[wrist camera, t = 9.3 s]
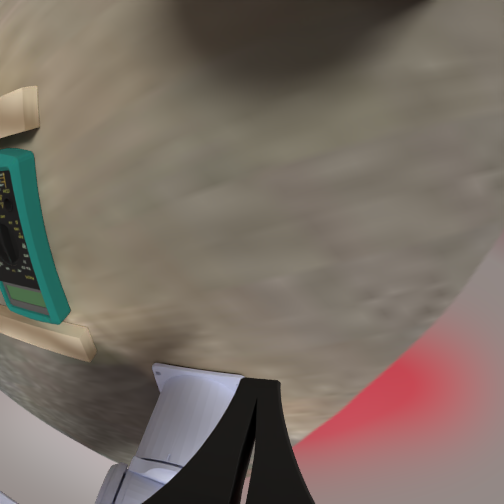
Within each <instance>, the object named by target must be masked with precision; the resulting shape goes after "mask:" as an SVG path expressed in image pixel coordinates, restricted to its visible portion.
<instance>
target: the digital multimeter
mask: <svg viewBox="0 0 504 504" xmlns="http://www.w3.org/2000/svg"><path fill="white" fill-rule="evenodd" d="M0 289H1V292H2V294H3V297H4V300H5V302H6V305H7V307H8V309H9V310H10V311H12V312H14V313H17V314H19V315H22V316H24V317H27V318H30V319H33V320H36V321H40V322H45V323H50V324H56V325H60V324H61V323H62V321H63V320H64V319H65V318H66V317H67V315H68V314H69V313H70V308H69V305H68V302H67V299H66V296H65V293H64V291H63V288H62V285H61V282H60V280H59V277H58V274H57V271H56V268H55V264H54V261H53V257H52V254H51V250H50V246H49V243H48V239H47V235H46V231H45V226H44V221H43V216H42V210H41V205H40V199H39V194H38V187H37V179H36V170H35V161H34V155H33V153H32V152H31V151H28V150H23V149H18V148H5V149H1V150H0Z"/></svg>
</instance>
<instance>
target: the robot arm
mask: <svg viewBox="0 0 504 504" xmlns="http://www.w3.org/2000/svg"><path fill="white" fill-rule="evenodd" d="M152 370H153V373H154V376H155V379H156V382H157V385H158V388H159V391H160V395H159V398H158V400H157V403H156V405H155V408H154V410H153V412H152V415H151V417H150V420H149V422H148V425H147V427H146V430H145V432H144V435H143V437H142V440H141V442H140V445H139V447H138V450H137V452H136V455H135V456H133V458H132V461H131V463H130V466H129V468H128V469H127V466H128V464H125V463H123V462H120V463H119V464H115V465H112V466H111V468H110V469H109V471H108V473H107V475H106V477H105V479H104V482H103V484H102V486H101V489H100V491H99V494H98V496H97V499H96V502H95V504H240V501H241V494H242V489H243V485H244V480H245V477H246V473H247V469H248V465H249V461H250V458H251V454H252V450H253V446H254V442H255V453H254V461H253V466H252V472H251V478H250V483H249V489H248V494H247V499H246V504H315V502H314V500H313V498H312V497H311V495H310V493H309V491H308V488H307V486H306V484H305V482H304V479H303V477H302V474H301V472H300V469H299V467H298V464H297V461H296V459H295V456H294V453H293V450H292V446H291V443H290V440H289V436H288V432H287V428H286V424H285V420H284V415H283V409H282V403H281V391H280V384H281V383H280V382H279V381H278V380H267V379H256V378H245V377H244V376H242V375H237V374H228V373H220V372H212V371H204V370H197V369H191V368H184V367H178V366H172V365H166V364H160V363H154V364H153V366H152ZM0 504H18V503H17V502H15V501H14V500H13V499H11V498H10V497H8V496H7V495H6V494H4V493H3V492H1V491H0Z"/></svg>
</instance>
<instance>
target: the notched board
mask: <svg viewBox="0 0 504 504" xmlns="http://www.w3.org/2000/svg"><path fill="white" fill-rule="evenodd" d="M38 127H40V124H39V112H38V95H37V86H31V87H23V88H20V89H18V90H15V91H13V92H10V93H8V94H6V95H3V96H1V97H0V138H3V137H6V136H9V135H13V134H16V133H20V132H24V131H27V130H31V129H34V128H38ZM0 333H3V334H5V335H8V336H10V337H13V338H16V339H18V340H21V341H24V342H27V343H29V344H32V345H35V346H38V347H41V348H44V349H47V350H50V351H53V352H56V353H59V354H63V355H66V356H69V357H73V358H76V359H79V360H83V361H87V362H91V360H92V359H93V357H94V356H95V354H96V353H97V350H96V347H95V345H94V342H93V340H92V338H91V335H90V332H89V330H88V327H83V326H79V325H75V324H70V323H66V322H62V323H61V324H60V325H56V324H50V323H45V322H40V321H36V320H33V319H30V318H27V317H24V316H22V315H19V314H17V313H14V312H12V311H10V310H9V309H8V307H7V306H3V305H0Z"/></svg>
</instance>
